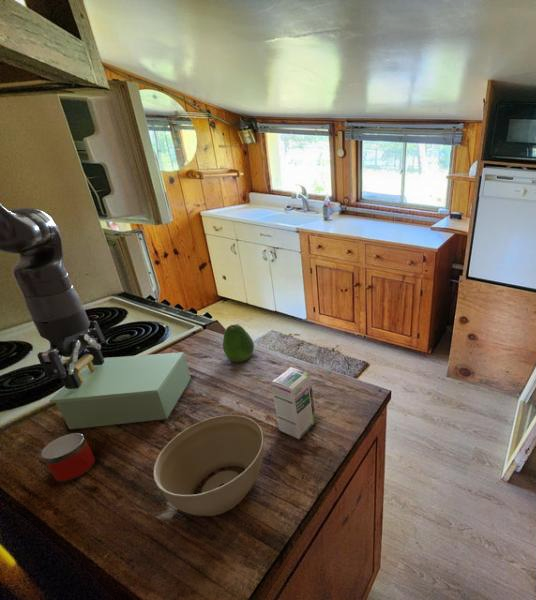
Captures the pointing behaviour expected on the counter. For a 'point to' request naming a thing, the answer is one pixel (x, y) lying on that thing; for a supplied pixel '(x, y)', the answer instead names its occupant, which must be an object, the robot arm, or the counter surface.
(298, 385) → the syrup box
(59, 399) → the lid
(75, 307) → the robot arm
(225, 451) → the planter bowl
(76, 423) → the chest
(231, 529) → the counter surface
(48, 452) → the can
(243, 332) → the avocado
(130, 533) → the counter surface
